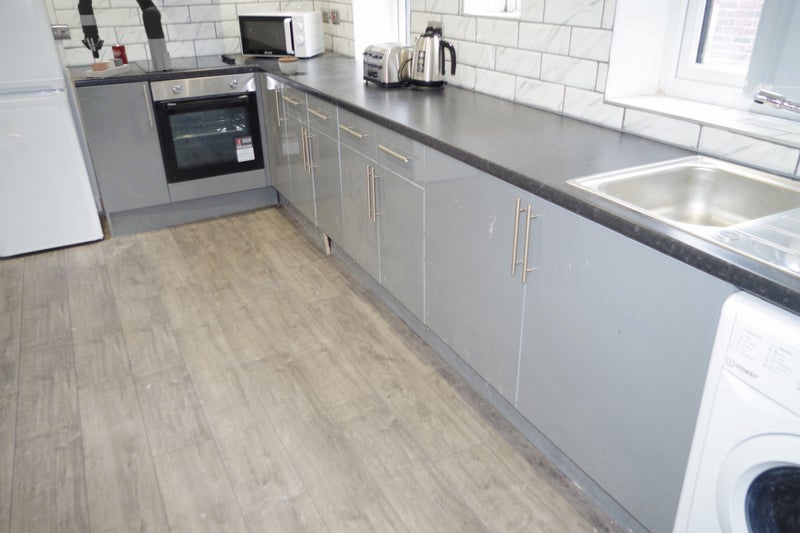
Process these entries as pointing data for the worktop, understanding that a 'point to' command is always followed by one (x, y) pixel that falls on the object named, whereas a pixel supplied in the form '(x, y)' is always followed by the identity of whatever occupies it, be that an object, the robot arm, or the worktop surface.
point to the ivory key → (109, 64)
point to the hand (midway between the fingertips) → (96, 58)
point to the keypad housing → (109, 71)
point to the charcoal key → (117, 62)
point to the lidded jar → (288, 65)
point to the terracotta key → (99, 66)
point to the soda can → (120, 53)
